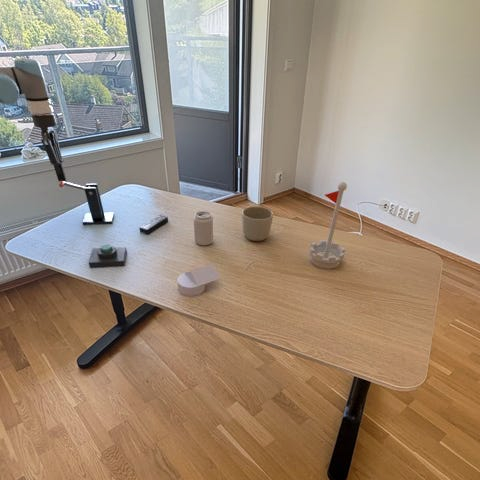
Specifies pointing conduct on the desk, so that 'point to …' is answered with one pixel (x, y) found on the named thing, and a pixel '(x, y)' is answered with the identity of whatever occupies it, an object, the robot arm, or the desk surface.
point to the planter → (256, 222)
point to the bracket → (95, 208)
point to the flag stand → (329, 238)
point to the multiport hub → (153, 224)
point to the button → (106, 248)
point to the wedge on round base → (196, 280)
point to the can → (203, 228)
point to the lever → (71, 185)
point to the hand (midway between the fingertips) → (62, 180)
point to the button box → (108, 257)
